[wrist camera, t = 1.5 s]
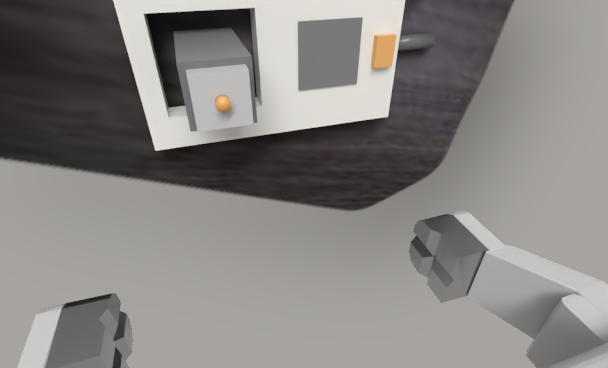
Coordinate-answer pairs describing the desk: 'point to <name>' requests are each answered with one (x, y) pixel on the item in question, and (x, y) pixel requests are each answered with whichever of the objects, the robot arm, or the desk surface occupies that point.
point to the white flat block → (284, 64)
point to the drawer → (215, 78)
